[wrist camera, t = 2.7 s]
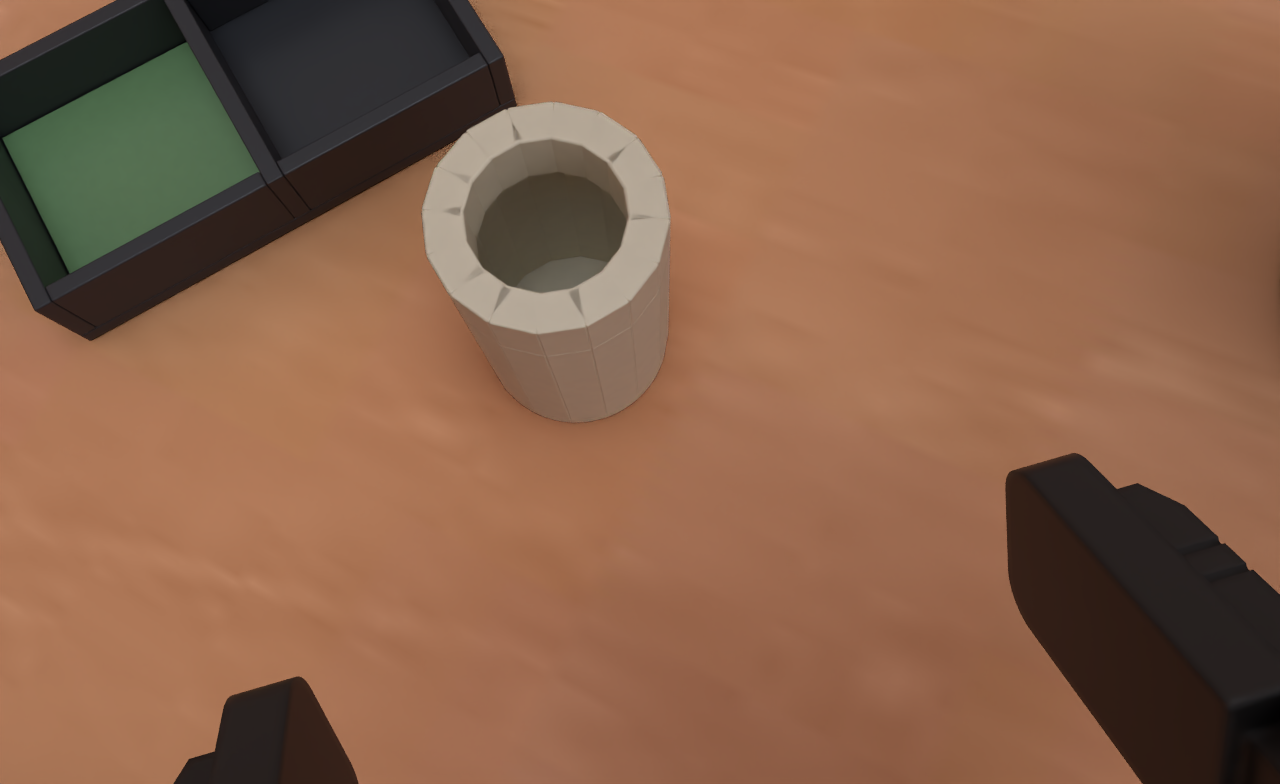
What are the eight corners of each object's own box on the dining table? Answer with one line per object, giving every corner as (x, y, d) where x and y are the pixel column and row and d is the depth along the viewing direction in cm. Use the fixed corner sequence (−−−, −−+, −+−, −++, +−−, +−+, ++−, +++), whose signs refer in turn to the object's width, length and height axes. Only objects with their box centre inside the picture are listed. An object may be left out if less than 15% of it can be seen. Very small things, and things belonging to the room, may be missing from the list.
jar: (608, 221, 37) (589, 61, 27) (700, 364, 36) (715, 252, 26) (457, 307, 37) (379, 176, 27) (545, 456, 36) (497, 378, 25)
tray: (403, -73, 40) (380, -137, 37) (517, 106, 39) (504, 55, 35) (-9, 143, 39) (-72, 95, 35) (90, 341, 37) (34, 311, 34)
